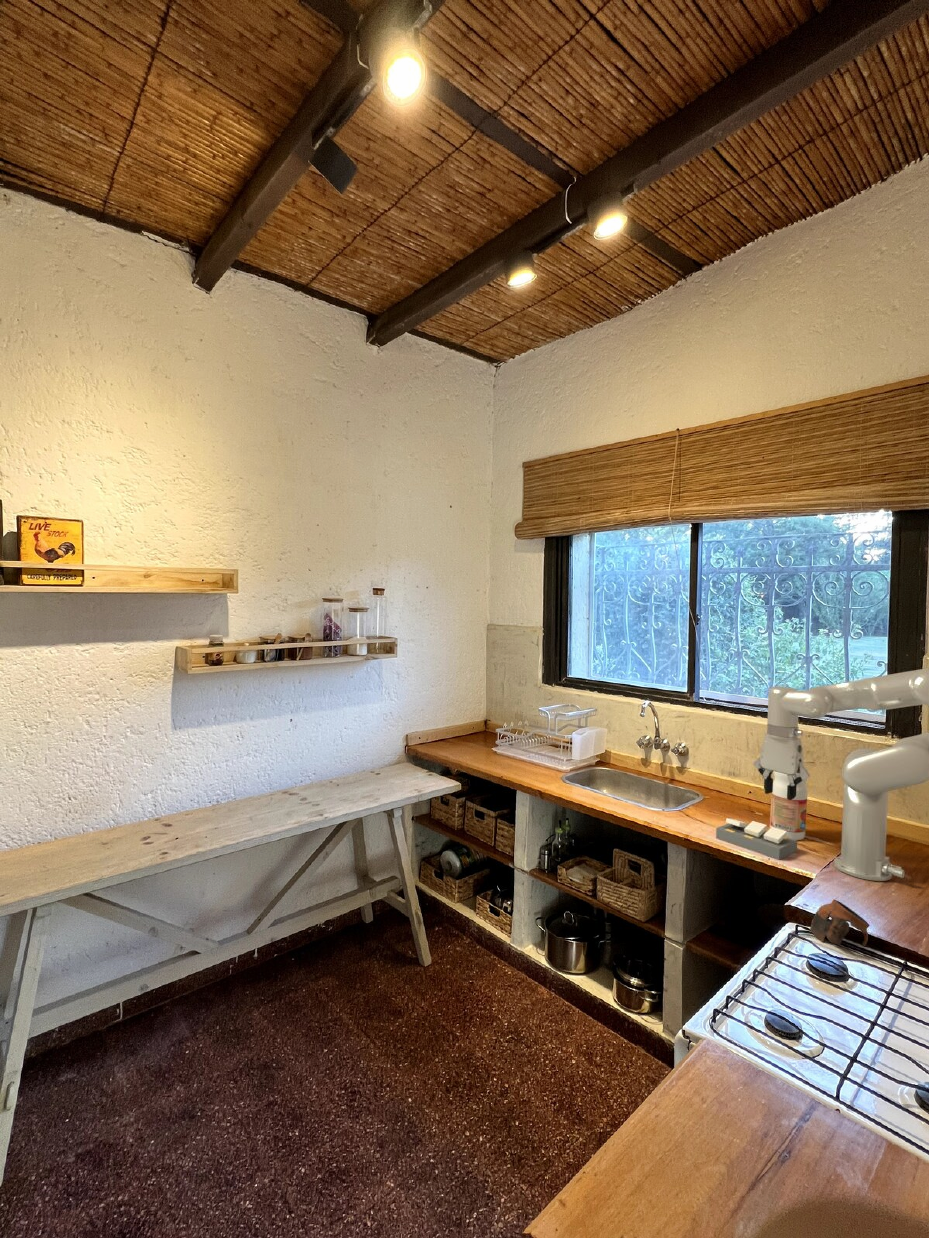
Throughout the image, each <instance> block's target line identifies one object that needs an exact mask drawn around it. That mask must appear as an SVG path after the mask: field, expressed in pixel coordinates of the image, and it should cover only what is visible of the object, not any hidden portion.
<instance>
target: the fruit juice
mask: <svg viewBox="0 0 929 1238" xmlns="http://www.w3.org/2000/svg"><path fill="white" fill-rule="evenodd" d="M804 767H805V769H806V770H807V771H808V768H807V767H806V765H805V764H804ZM801 775H802V774H801V773H797V777H799V776H801ZM773 776H774V779H773V792H772V793H770V794H771V795H770V799H771V800H770V815H769V829H770V828H771V827H774V828H778V829H781V830H784V831H787V836H786V837H787V838H790V839H794V840H797V841H801V840H804V839H805V837H806V825H807V809H808V808H807V807H808V787H807V783H806V782H807V780H808V778H807V779H805V780H803V781H802V782H800V783H799V784H797V788H796V797H795V798H794V799H792V800H788V799H787V786H788V785H789V780H788V776H787V774H784V773H779V772H775V771H773Z"/></svg>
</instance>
